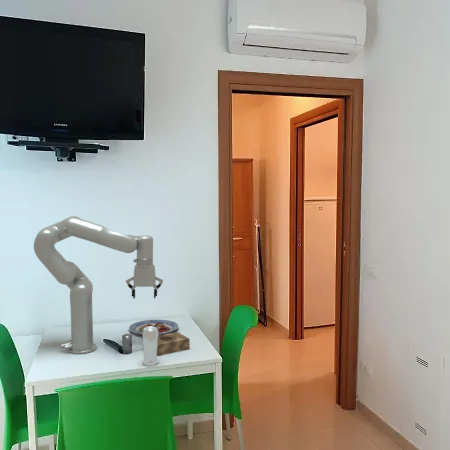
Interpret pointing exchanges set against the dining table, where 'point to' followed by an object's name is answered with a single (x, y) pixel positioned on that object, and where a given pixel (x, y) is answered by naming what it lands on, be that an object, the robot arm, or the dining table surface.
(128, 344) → the grey cylinder
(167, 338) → the block
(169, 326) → the ceramic plate
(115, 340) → the dining table surface
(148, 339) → the beer glass
